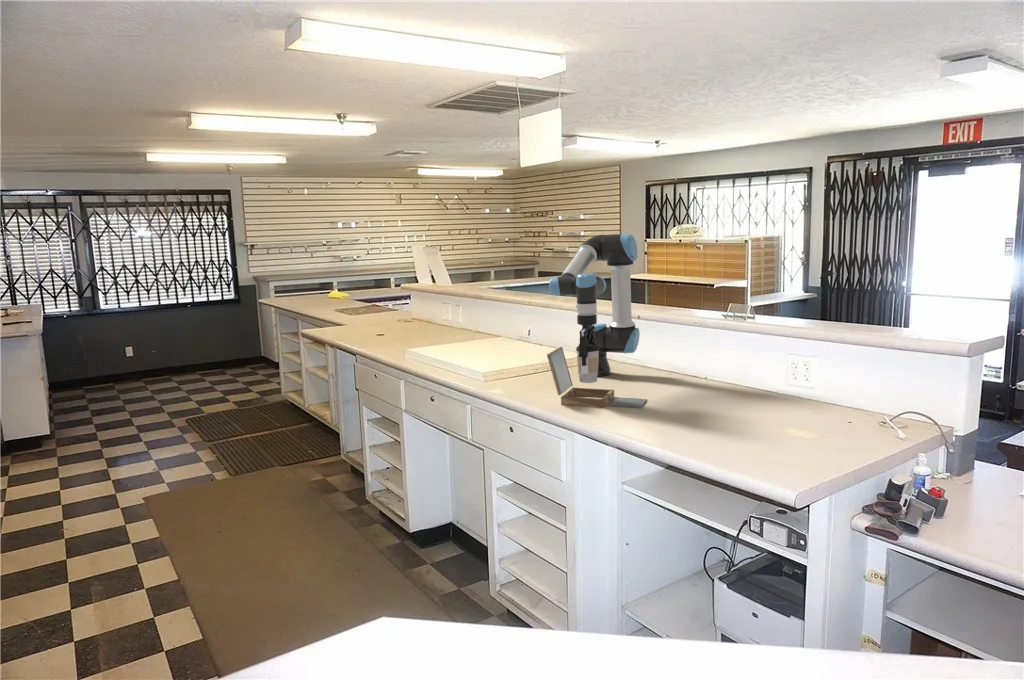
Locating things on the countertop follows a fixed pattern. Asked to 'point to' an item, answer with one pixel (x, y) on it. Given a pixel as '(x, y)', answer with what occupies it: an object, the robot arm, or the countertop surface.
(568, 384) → the lid
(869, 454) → the countertop surface
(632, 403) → the mat
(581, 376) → the coffee cup
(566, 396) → the tray
